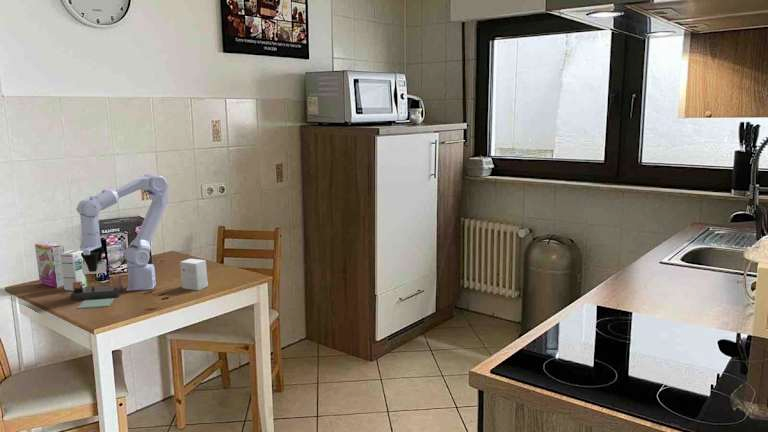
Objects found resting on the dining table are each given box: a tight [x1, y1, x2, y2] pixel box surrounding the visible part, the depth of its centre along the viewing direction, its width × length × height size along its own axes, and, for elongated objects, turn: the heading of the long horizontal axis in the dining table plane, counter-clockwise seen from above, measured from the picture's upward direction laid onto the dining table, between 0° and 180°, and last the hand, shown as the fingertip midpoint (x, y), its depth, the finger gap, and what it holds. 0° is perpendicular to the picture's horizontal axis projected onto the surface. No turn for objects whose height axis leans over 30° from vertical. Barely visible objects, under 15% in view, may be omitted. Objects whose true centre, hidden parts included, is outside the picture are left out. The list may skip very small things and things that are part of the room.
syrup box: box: [60, 249, 88, 292], centre depth 222 cm, size 6×6×14 cm
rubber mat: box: [76, 297, 115, 310], centre depth 205 cm, size 10×8×1 cm
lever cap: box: [82, 259, 107, 275], centre depth 210 cm, size 7×4×4 cm, turn 101°
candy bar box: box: [34, 241, 65, 289], centre depth 227 cm, size 11×5×16 cm, turn 61°
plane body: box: [70, 273, 124, 301], centre depth 213 cm, size 16×7×7 cm, turn 101°
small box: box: [179, 258, 209, 291], centre depth 221 cm, size 8×6×10 cm
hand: (94, 269), depth 211 cm, fingers closed on lever cap, 4 cm apart
